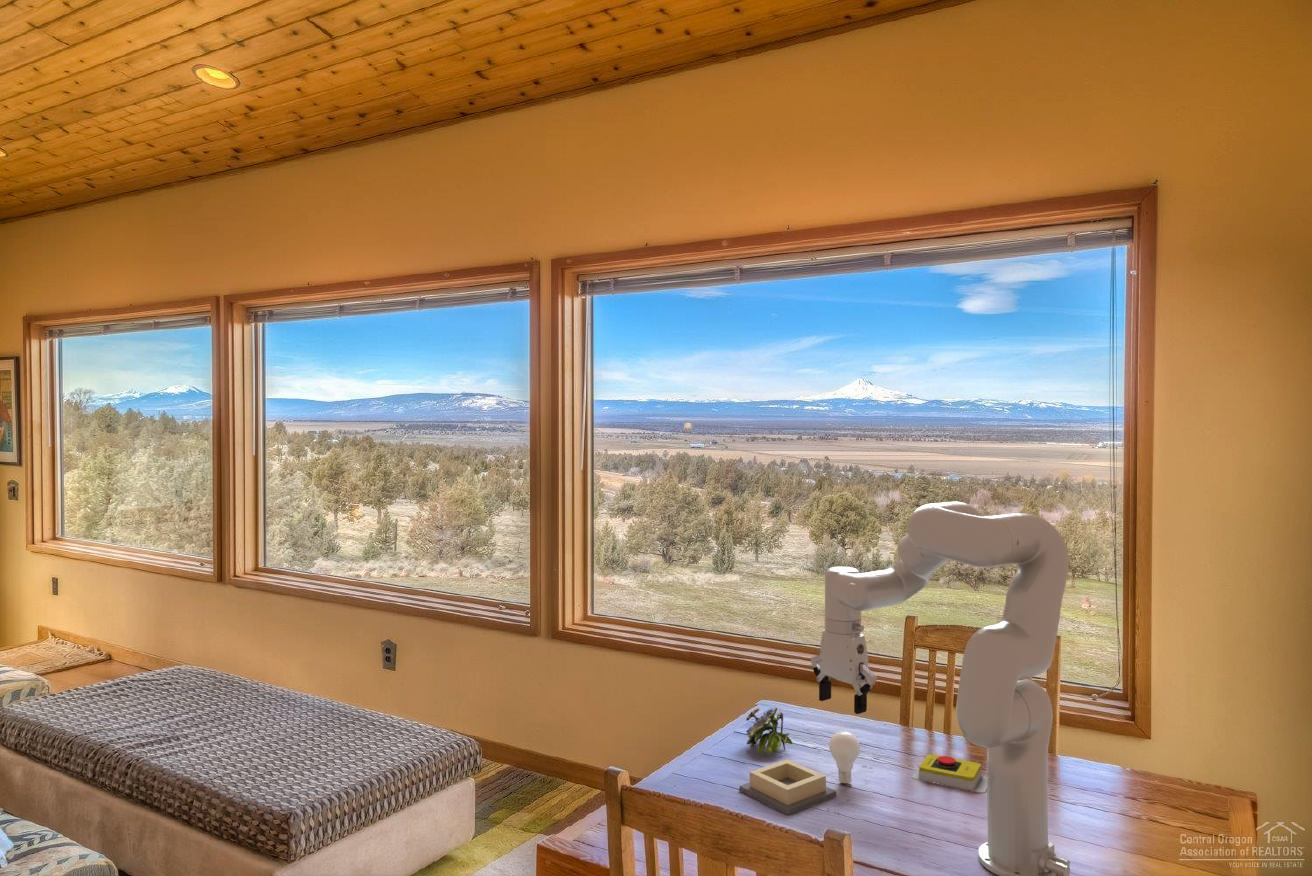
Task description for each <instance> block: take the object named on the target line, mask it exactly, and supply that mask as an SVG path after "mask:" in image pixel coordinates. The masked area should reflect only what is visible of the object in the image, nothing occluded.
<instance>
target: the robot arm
mask: <svg viewBox="0 0 1312 876" xmlns="http://www.w3.org/2000/svg"><path fill="white" fill-rule="evenodd" d="M906 529H907V530H906V532H907V533H906V535H904V536H903V537H901V538H900V540H899V541H898V543H897V550H896V551H897V555H898V557H899V561H898V562H896V563H895V564H893V565H891V566H890V567H888V568H886V569H881V570H880V569H878V570H872V571H867V572H860V570H858V569H857V568H855V567H851V566H831V567H829V568H827V569H826V571H825V574H824V629H822V635H821V640H820V647H819V655H816V656H813V657H811V658H810V663H811V665H812V666H811V667H812V670H813V672H814V675H815V676H816V681H817V682H818V685H819V686H818V701H820V702H824V701H827V700H831V699H832V680H831V679H834V680H837V681H840V682H843V683H845V684H850V685H852V687H853V689H854V691H855V693H856V694H854V696H853V703H854V704H853V705H854V709H853V712H854V714H855V715H860V714H863V713H866V712H867V709H868V708H867V706H868V705H867V704H868V696H867V695H868V694H870V692H871V691H872V690H873V688H874V687H875V685H876V682H877V680H878V677H877V675H876V674H875V673H874V672H873V671H872V670H870V669H869V657H868V656H869V655H868V648H867V642H866V638H865V634H863V633H862V632H864V629H865V626H864V625H862V612H867V611H872V610H876V609H882V608H883V609H884V608H887V607H893V606H897V605H901V604H902V603H904V602H906V601H907V600H909V599H911V598H912V597H913V596H915V595H917V594H918V593H919V592H920V591H922V590H923V589H924V588H925V587H926V586H928V584H929V582H930V580H931V578H932V576H933V573H934V572H936V571H937V570H939V569H940V568H942V566H944V565H945V564H946V563H948V562H949V561H954V562H958V563H961V564H965V565H967V566H968V565H969V566H973V567H977V568H984V569H987V568H988V569H991V568H997V567H1005V566H1010V565H1011V566H1013V565H1016V567H1017V569H1016V572H1015V574H1014V576H1013V577H1012V580H1011V581H1010V583H1009V585H1008V588H1007V591H1006V594H1005V604H1004V609H1003V612H1002V617H1001V620H1000V621H999V622H998V623H996V624H991V625H986V626H984V627H981V628H979V629H978V630H977V631H975V632H974V633H973V634H972V635H971V637H970V638H969V640H968V641H967V643H966V645H965V648H964V652H963V656H962V657H963V658H962V662H961V663H962V664H961V670H960V676H959V683H958V690H957V697H956V698H957V699H956V706H955V707H956V708H955V709H956V710H955V712H956V719H957V725H958V727H959V729H960V732H961V733H962V735H964V737H965V738H966V739H967V740H968V741H969V742H970V743H971V744H972V745H975V746H977V747H980V748H984V749H987V754H986V755H987V757H986V776H987V790H986V794H987V796H986V797H987V799H986V800H987V801H986V802H987V804H986V805H987V807H986V808H987V841H986V842H984V843H983V844H981V845H980V846H979V848H978V850H977V854H978V855H977V857H978V858H977V859H978V860H979V862H980V863H981V865H982V866H983V867H985V869H986V870H988V871H989V872H990V873H992V874H994V875H997V876H1070V874H1071V868H1070V867H1071V861H1070V860H1068V859H1066V858H1064V857H1062V856H1061V857H1060V856H1058V855H1057V853H1055V844H1054V843H1052V842H1050V841H1049V819H1048V818H1049V817H1048V815H1049V813H1048V812H1049V810H1048V809H1049V808H1048V807H1049V806H1048V805H1049V804H1048V799H1049V798H1048V794H1049V793H1048V776H1049V775H1048V758H1049V752H1048V751H1049V744H1050V737H1051V732H1052V727H1053V717H1054V714H1053V705H1052V701H1051V699H1050V697H1049V694H1048V693H1047V691H1046V690H1045V689H1044V687H1042V686H1041V685H1040V684H1039V683H1038V682H1036V681H1033V680H1031V679H1030V678H1034V677H1036V676H1040V675H1041V674H1043V673H1045V672H1047V670H1048V669H1049V668H1050V667H1051V666H1052V662H1053V660H1054V655H1055V650H1056V649H1055V648H1056V642H1057V637H1058V630H1059V625H1060V623H1059V622H1060V618H1061V612H1062V611H1061V610H1062V604H1063V603H1062V602H1063V597H1064V592H1065V589H1066V586H1067V585H1066V584H1067V579H1068V573H1069V563H1070V562H1069V553H1068V549H1067V545H1066V542H1065V541H1064V538H1063V536H1062V535H1061V533H1060V532H1059V531H1058V529H1056V527H1055V526H1054V525H1053V524H1051V523H1050V522H1049V521H1048V520H1046V519H1044V518H1043V517H1040V516H1038V515H1036V514H1031V513H1021V512H1019V513H1018V512H1017V513H1006V514H1005V513H1004V514H998V515H987V516H981V513H980V512H979V511H978V510H977V509H976V508H975V507H973V506H972V505H971V504H969V503H966V502H962V501H961V502H960V501H949V502H948V501H947V502H936V503H927V504H924V505H921V506H920V507H918V508H917V509H915V510H914V511H913V512H912V513H911V514H910V516H909V518H908V522H907V528H906Z"/></svg>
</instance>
